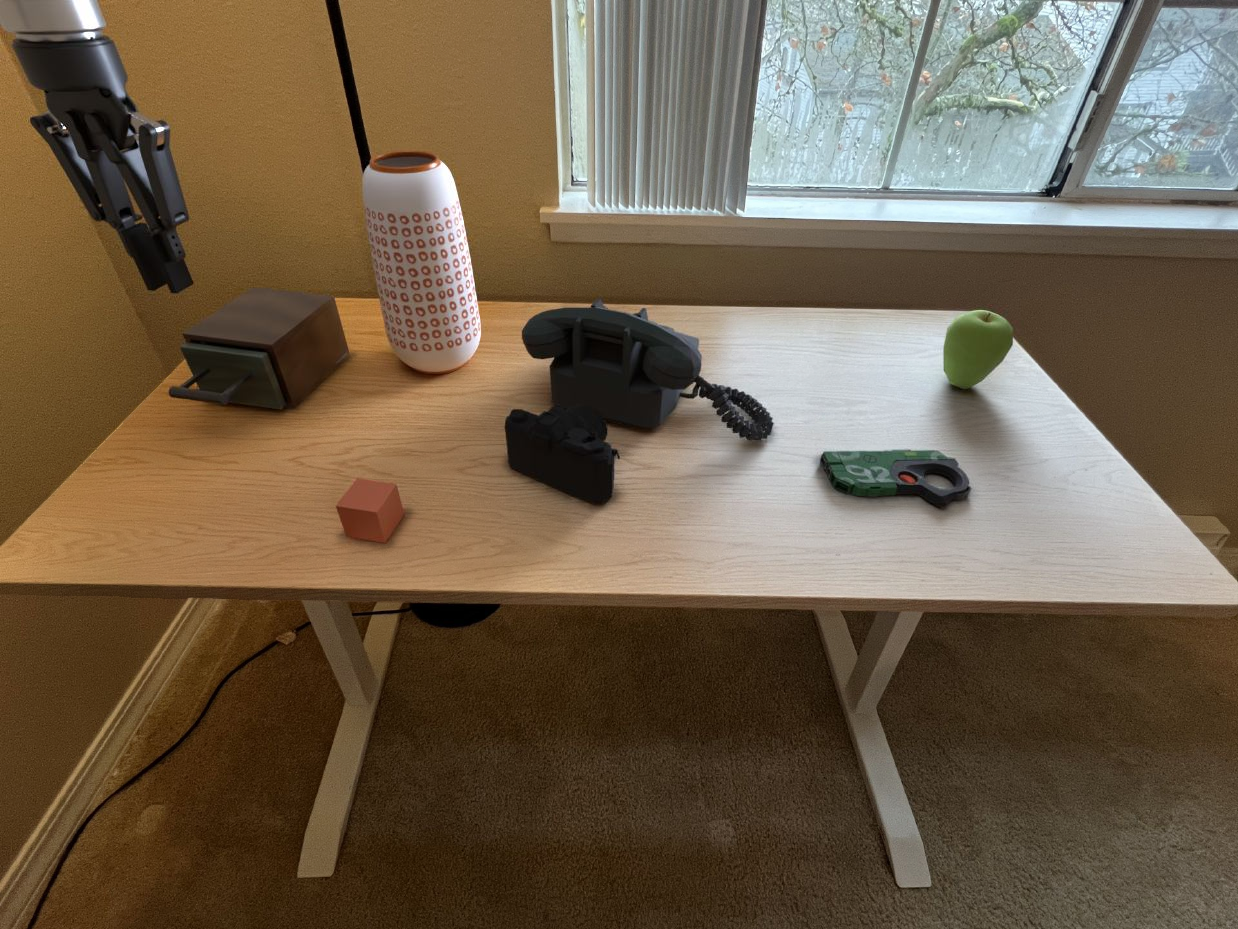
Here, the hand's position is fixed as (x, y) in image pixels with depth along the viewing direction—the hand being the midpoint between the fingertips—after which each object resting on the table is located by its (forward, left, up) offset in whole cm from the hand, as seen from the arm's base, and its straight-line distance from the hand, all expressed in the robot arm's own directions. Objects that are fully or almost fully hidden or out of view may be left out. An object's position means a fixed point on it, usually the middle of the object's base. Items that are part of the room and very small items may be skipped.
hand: (171, 286), depth 72 cm
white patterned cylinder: (+29, +3, -19) cm, 34 cm away
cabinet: (+8, +9, -18) cm, 22 cm away
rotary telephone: (+53, -20, -19) cm, 60 cm away
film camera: (+35, -29, -19) cm, 49 cm away
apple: (+94, -39, -19) cm, 103 cm away
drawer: (+4, +5, -18) cm, 19 cm away
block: (+12, -28, -18) cm, 36 cm away
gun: (+68, -50, -19) cm, 86 cm away
